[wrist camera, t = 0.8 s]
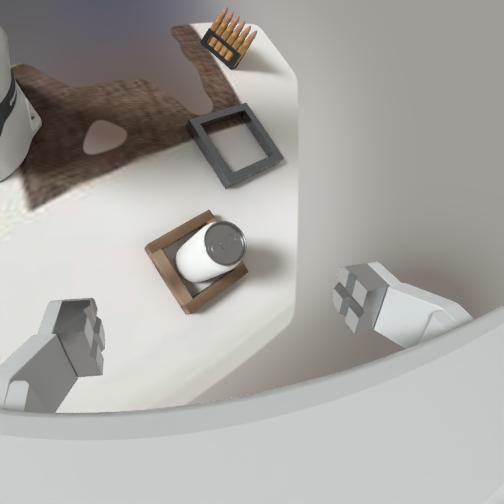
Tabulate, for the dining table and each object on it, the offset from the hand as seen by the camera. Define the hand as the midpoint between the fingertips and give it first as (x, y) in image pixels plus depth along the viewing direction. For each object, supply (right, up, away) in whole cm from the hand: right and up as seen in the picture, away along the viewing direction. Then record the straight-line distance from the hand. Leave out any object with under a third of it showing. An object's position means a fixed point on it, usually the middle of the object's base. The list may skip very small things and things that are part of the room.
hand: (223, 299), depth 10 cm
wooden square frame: (-8, 0, +38) cm, 39 cm away
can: (-8, 0, +39) cm, 39 cm away
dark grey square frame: (-2, +22, +47) cm, 52 cm away
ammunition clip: (-7, +46, +52) cm, 70 cm away
